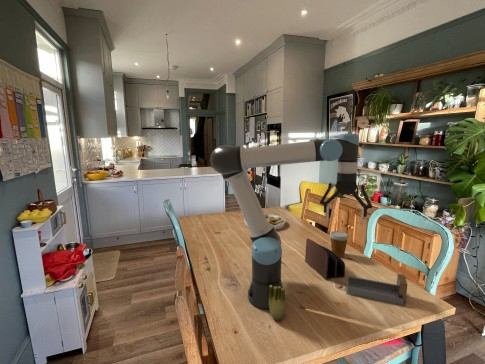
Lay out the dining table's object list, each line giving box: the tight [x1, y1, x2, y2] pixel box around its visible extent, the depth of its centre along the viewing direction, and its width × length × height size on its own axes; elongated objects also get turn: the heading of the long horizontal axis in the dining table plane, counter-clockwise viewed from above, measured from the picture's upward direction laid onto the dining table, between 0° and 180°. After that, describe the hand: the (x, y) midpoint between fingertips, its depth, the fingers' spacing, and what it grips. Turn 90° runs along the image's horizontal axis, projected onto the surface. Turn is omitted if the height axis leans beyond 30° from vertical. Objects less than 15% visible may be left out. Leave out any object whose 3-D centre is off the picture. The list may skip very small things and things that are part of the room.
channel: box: [345, 273, 408, 307], centre depth 105 cm, size 10×21×9 cm, turn 66°
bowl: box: [243, 213, 286, 231], centre depth 190 cm, size 30×30×8 cm
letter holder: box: [304, 237, 346, 281], centre depth 125 cm, size 10×20×14 cm, turn 14°
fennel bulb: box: [268, 285, 287, 321], centre depth 92 cm, size 6×5×12 cm
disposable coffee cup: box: [329, 230, 349, 258], centre depth 141 cm, size 10×10×12 cm
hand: (344, 222), depth 109 cm, fingers open, 13 cm apart
